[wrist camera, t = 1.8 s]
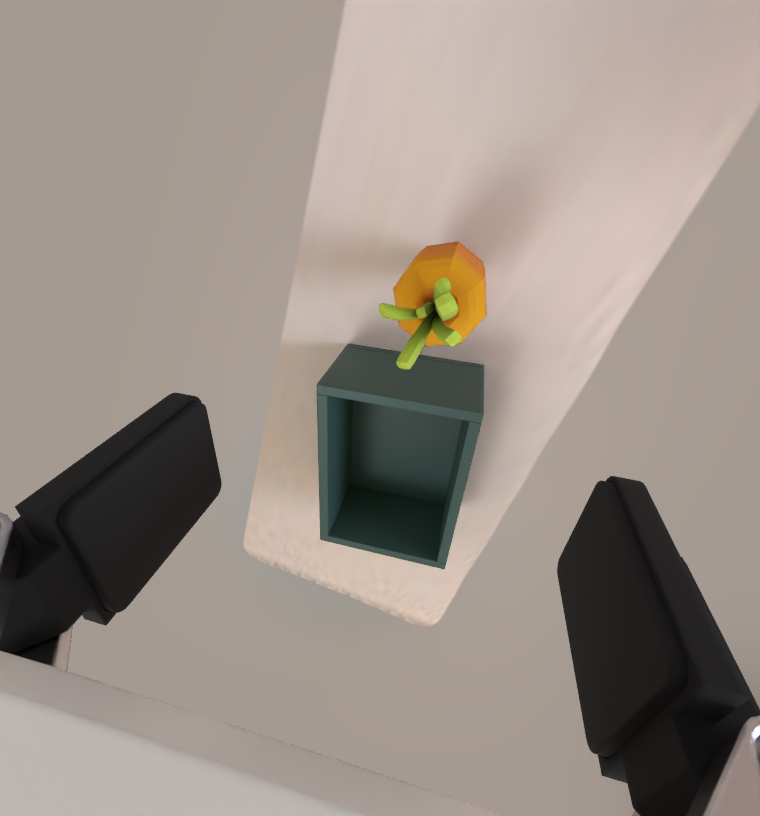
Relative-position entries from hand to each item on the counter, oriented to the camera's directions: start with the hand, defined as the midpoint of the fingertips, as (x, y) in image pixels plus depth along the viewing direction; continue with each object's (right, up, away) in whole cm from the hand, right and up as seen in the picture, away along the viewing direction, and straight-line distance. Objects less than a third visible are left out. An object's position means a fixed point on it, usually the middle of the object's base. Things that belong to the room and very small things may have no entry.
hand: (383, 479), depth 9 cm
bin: (+2, -1, +28) cm, 28 cm away
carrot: (+5, +13, +19) cm, 23 cm away
